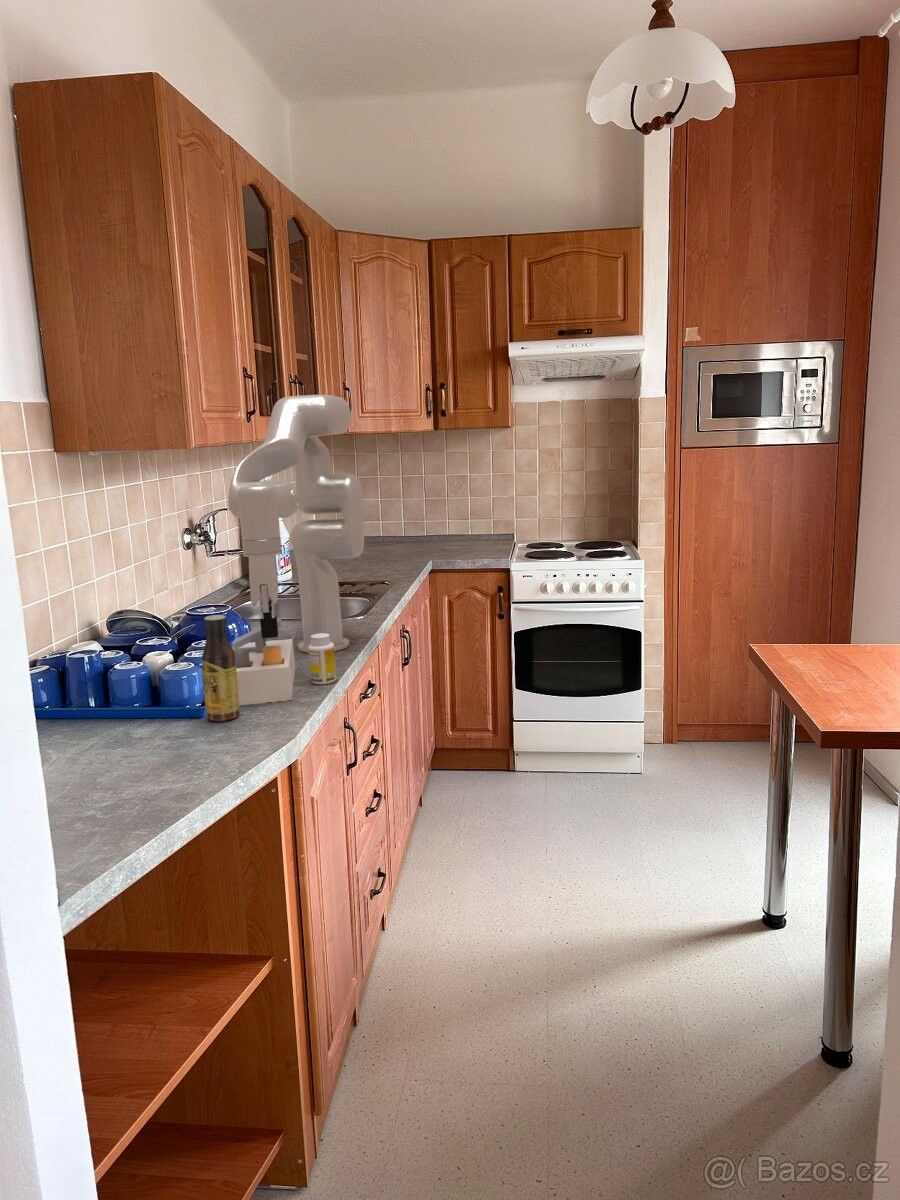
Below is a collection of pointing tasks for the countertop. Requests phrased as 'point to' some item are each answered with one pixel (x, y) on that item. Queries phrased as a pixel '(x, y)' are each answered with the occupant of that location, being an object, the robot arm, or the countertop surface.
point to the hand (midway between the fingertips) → (270, 636)
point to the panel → (266, 674)
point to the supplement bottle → (322, 659)
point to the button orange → (272, 655)
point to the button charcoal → (242, 657)
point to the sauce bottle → (219, 672)
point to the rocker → (251, 636)
